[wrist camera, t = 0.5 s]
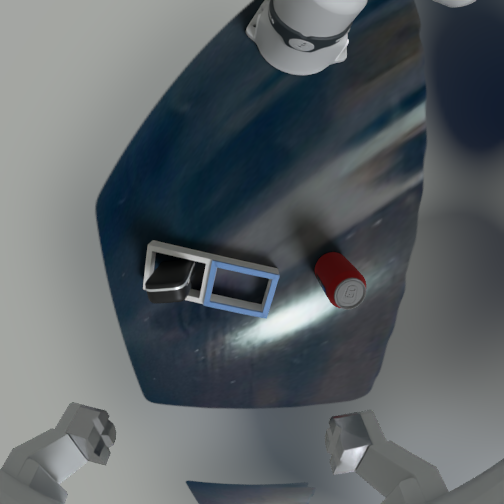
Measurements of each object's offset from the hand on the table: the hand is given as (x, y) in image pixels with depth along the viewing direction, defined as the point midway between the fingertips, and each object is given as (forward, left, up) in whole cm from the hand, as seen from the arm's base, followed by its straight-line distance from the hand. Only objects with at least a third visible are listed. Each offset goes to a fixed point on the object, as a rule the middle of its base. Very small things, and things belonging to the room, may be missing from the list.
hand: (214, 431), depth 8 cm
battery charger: (+13, -9, -44) cm, 47 cm away
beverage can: (+6, +19, -44) cm, 48 cm away
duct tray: (+13, -3, -44) cm, 46 cm away
